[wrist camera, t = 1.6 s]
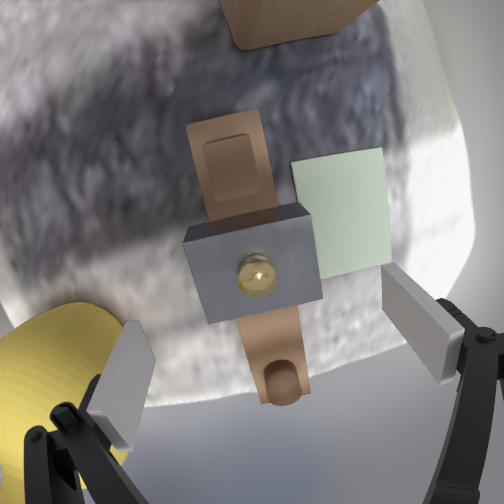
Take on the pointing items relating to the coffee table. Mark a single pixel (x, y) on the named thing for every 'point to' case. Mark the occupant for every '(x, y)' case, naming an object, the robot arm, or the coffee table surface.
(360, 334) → the coffee table surface
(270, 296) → the lever cap
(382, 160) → the felt mat
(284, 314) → the body
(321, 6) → the wooden block
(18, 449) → the vase
